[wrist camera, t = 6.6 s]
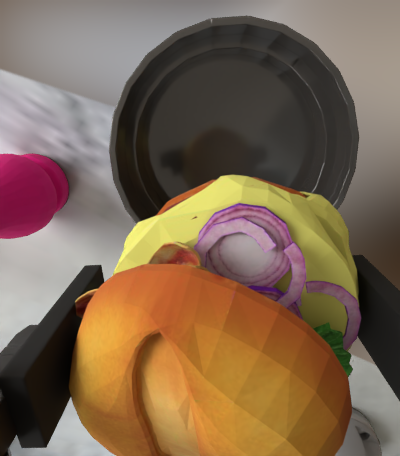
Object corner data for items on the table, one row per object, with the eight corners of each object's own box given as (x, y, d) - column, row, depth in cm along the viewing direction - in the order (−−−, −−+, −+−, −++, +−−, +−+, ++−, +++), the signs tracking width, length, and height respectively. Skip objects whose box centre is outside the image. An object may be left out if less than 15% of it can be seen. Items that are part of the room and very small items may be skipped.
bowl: (319, 236, 33) (344, 265, 27) (142, 243, 34) (127, 273, 28) (336, 30, 27) (374, 6, 20) (116, 45, 27) (90, 26, 21)
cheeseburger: (391, 280, 15) (524, 566, 7) (220, 346, 20) (177, 560, 12) (272, 106, 13) (254, 231, 4) (108, 232, 18) (-48, 403, 9)
